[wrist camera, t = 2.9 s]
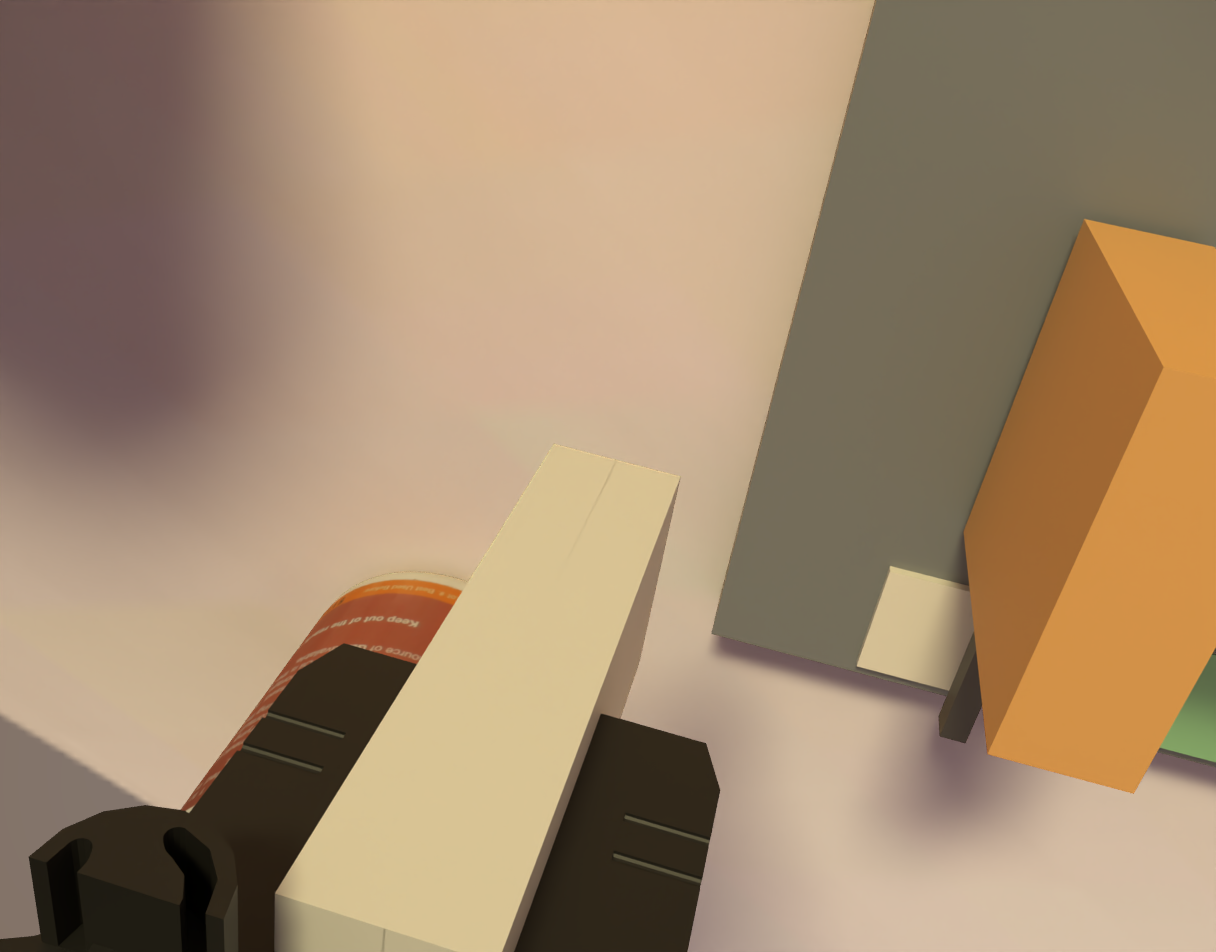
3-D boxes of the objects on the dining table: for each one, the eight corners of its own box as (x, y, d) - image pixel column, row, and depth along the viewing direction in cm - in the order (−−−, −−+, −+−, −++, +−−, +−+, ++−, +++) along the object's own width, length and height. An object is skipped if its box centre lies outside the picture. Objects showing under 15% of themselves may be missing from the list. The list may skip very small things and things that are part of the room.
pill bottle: (292, 683, 28) (-6, 1094, 19) (377, 514, 25) (71, 905, 16) (503, 801, 29) (313, 1261, 19) (612, 649, 26) (450, 1110, 16)
